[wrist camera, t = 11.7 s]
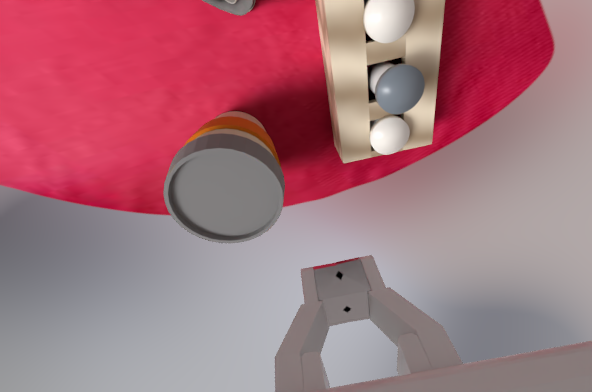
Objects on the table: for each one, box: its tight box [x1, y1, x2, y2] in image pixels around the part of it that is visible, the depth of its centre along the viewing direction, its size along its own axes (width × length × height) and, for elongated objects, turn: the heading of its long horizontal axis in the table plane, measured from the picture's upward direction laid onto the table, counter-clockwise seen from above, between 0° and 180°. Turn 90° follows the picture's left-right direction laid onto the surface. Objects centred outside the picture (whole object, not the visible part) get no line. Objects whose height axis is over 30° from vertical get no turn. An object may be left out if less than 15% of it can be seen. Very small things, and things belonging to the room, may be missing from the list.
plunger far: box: [369, 115, 410, 155], centre depth 37 cm, size 5×5×7 cm
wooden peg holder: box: [315, 0, 445, 163], centre depth 34 cm, size 19×12×6 cm, turn 12°
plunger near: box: [363, 0, 415, 43], centre depth 30 cm, size 5×5×7 cm
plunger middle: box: [367, 61, 425, 114], centre depth 31 cm, size 5×5×7 cm
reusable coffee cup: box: [164, 111, 285, 243], centre depth 35 cm, size 13×13×15 cm
